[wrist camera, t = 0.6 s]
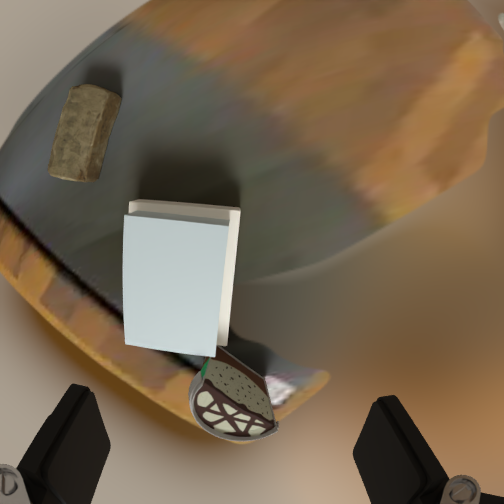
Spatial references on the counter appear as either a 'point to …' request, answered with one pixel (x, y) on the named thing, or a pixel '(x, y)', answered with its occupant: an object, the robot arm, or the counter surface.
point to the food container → (231, 399)
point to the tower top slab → (173, 281)
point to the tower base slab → (231, 248)
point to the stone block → (83, 133)
